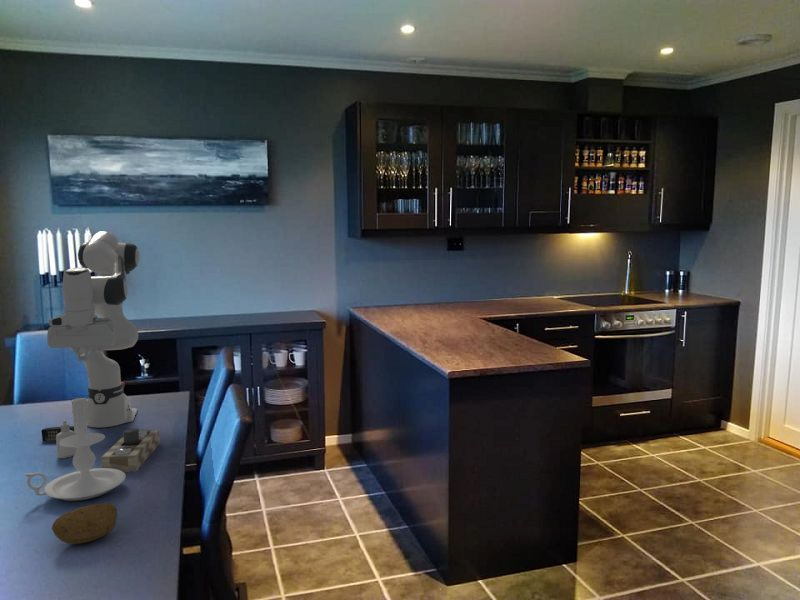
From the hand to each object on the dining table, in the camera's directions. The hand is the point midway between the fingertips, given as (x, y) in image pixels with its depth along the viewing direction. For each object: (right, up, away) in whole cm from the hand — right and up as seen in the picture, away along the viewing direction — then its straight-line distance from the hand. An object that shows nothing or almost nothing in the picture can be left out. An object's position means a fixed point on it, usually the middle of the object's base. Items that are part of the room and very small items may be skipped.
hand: (83, 360), depth 204 cm
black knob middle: (+17, -27, -2) cm, 32 cm away
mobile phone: (-14, -30, +16) cm, 37 cm away
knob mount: (+17, -31, -2) cm, 36 cm away
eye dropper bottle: (-5, -32, 0) cm, 32 cm away
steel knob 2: (+16, -30, +6) cm, 34 cm away
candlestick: (+13, -35, -29) cm, 47 cm away
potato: (+28, -38, -54) cm, 72 cm away
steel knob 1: (+18, -31, -10) cm, 37 cm away
